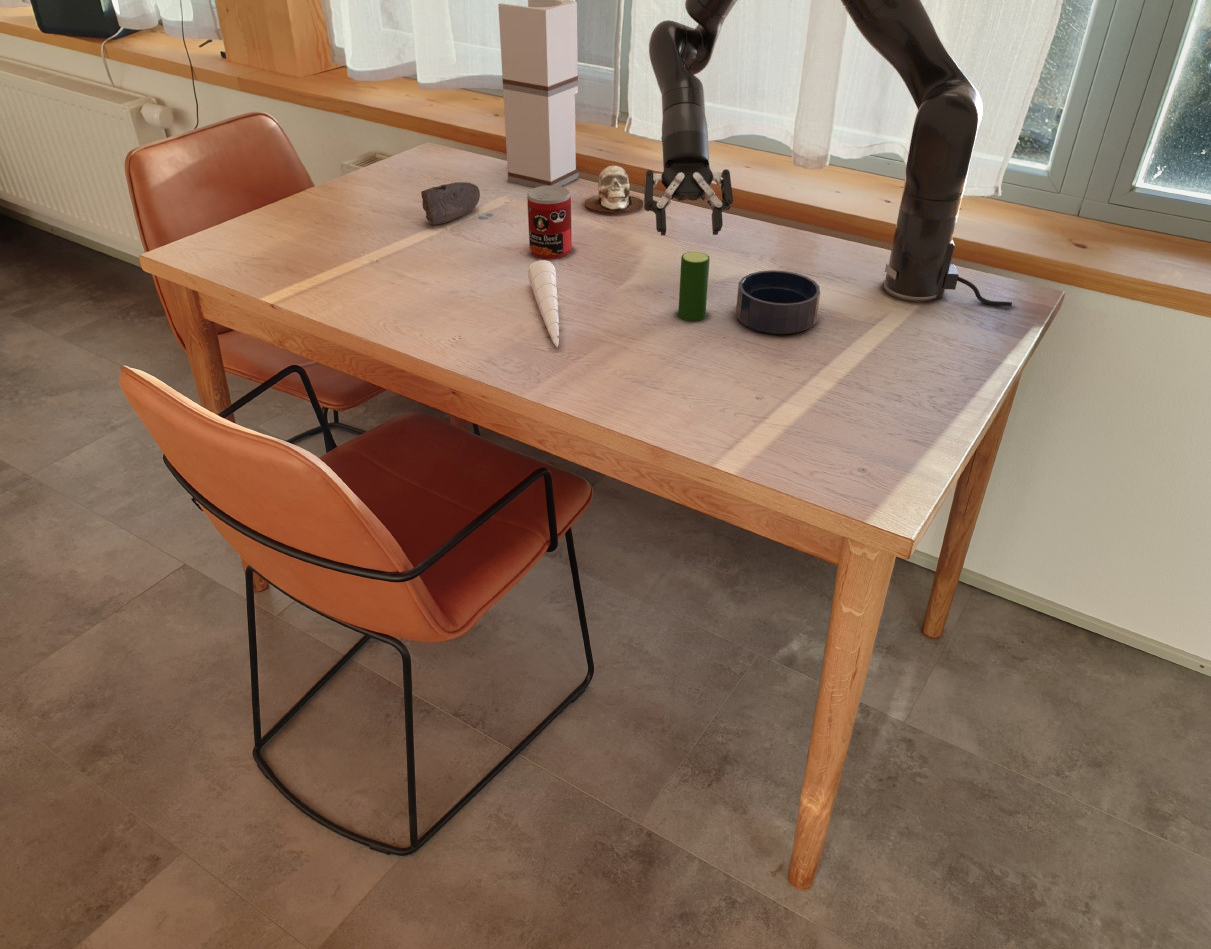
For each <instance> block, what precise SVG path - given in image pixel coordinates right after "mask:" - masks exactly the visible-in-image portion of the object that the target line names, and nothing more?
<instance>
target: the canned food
mask: <svg viewBox="0 0 1211 949" xmlns="http://www.w3.org/2000/svg"><path fill="white" fill-rule="evenodd" d="M526 196H527V197H526V198H527V200H526V202H527V205H526V206H527V220H528V221H527V222H528V223H527V224H528V241H529V242H528V244H529V249H530V250H529V251H530V253H531V254H532V255H533V256H534V257H537V258H540V259H543V260H555V259H560V258H563V257H566V256H567V255H568V254H569V253H570V252H571V250H572V243H573V242H572V240H573V239H572V194H571V190H570V189H569V188H566V187H564V186H540V187H536V188H535V187H532V188H531V189H530V190H528V192H527V195H526Z"/></svg>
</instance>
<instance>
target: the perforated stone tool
mask: <svg viewBox="0 0 1211 949" xmlns="http://www.w3.org/2000/svg"><path fill="white" fill-rule="evenodd" d="M420 193H421V200H422V204H421V206H422V209H423V210H424V212H425V218H426V220H427V222H429V223H430V224H431V225H433V226H435V225H440V224H445V223H449V222H452V221H454V220H456V219H458V218H460V217H463V216H465V215H467V214H469V213H470V212H471V211H473V210H474V209H475V208H476V206H477V205H478V204H479V202H480V199H481V198H480V197H481V193H480V188H479V186H477V185H476V184H474V183H471V182H466V181H457V182H451V183H445V184H440V185H438V186H432V187H430V188H426V189H424V190H421V192H420Z"/></svg>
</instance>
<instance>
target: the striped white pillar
mask: <svg viewBox="0 0 1211 949" xmlns="http://www.w3.org/2000/svg"><path fill="white" fill-rule="evenodd" d="M497 6H498V22H499V43H500V57H501V58H500V62H501V77H502V78H501V79H502V95H503V96H502V97H503V112H504V130H505V144H506V145H505V147H506V148H505V149H506V165H507V167H506V168H507V181H508V182H510V183H514V184H519V185H523V186H527V187H532V188H536V187H540V186H560V187H563V186H565V185H566V184H568V183H571V182H572V181H575V180H576V179H578V178H580V168H579V167H577V164H576V163H577V160H576V159H577V158H576V156H577V155H576V154H577V153H576V94H578V93H579V72H578V71H579V68H578V66H579V65H578V64H579V63H578V61H579V60H578V59H579V58H578V56H579V54H578V2H577V1H574V0H527V6H525V5H524V6H523V5H518V4H517V5H516V4H509V3H501V2H500V3H498V5H497Z"/></svg>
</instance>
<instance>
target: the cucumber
mask: <svg viewBox="0 0 1211 949" xmlns="http://www.w3.org/2000/svg"><path fill="white" fill-rule="evenodd" d="M709 271H710V256H709V255H708V254H707V253H704V252H701V251H688V252H684V253H683V254H682V255H681V258H680V274H679V275H680V276H679V293H678V294H679V295H678V312H677V315H678V317H679V319H681V320H683V321H687V322H698V321H702V320H704V319H705V317H706V312H707V299H708V285H709V284H708V283H709V273H710V272H709Z"/></svg>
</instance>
